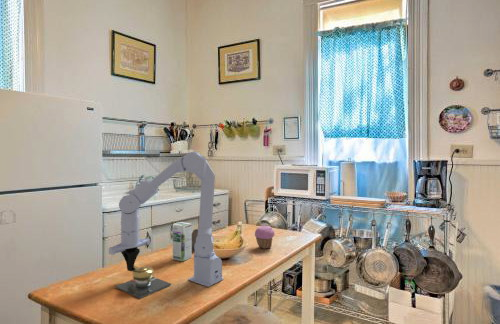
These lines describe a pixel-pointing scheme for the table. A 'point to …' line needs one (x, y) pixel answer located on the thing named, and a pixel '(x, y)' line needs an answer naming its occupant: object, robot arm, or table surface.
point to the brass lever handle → (142, 273)
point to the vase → (194, 237)
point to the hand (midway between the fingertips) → (130, 270)
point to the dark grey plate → (143, 286)
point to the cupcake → (264, 236)
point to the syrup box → (182, 241)
